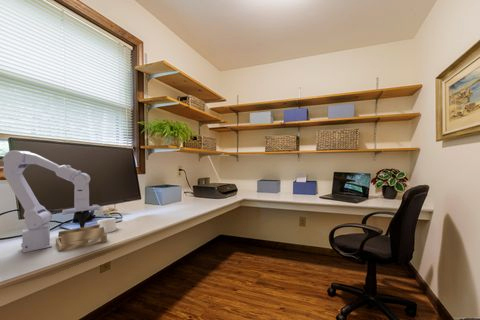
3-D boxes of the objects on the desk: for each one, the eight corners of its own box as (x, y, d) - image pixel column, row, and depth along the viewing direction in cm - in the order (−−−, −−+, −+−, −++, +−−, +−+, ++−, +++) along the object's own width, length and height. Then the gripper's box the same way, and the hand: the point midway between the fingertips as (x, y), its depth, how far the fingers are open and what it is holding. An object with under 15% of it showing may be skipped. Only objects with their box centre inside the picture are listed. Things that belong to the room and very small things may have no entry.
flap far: (58, 232, 105) (58, 231, 105) (58, 237, 107) (58, 236, 107) (99, 224, 116) (99, 224, 116) (98, 229, 118) (98, 228, 118)
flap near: (61, 244, 98) (61, 243, 98) (60, 235, 99) (60, 234, 99) (104, 234, 109) (104, 234, 109) (103, 227, 111) (103, 226, 111)
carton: (58, 252, 97) (58, 245, 97) (55, 244, 106) (55, 237, 106) (107, 241, 110) (107, 234, 110) (100, 235, 119) (100, 228, 119)
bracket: (111, 229, 133) (110, 217, 133) (119, 229, 128) (118, 217, 129) (71, 239, 116) (70, 226, 117) (78, 240, 111) (77, 226, 112)
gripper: (63, 201, 99) (63, 232, 99) (101, 197, 109) (101, 225, 109) (61, 199, 104) (62, 229, 104) (98, 196, 114) (98, 222, 114)
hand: (82, 227), depth 107 cm, fingers closed
